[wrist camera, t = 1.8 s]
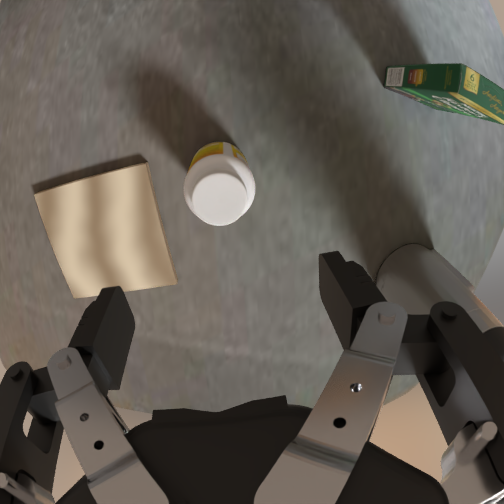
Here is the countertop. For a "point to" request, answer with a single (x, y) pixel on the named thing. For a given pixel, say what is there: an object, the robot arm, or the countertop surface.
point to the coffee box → (448, 89)
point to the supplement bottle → (219, 184)
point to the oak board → (108, 232)
